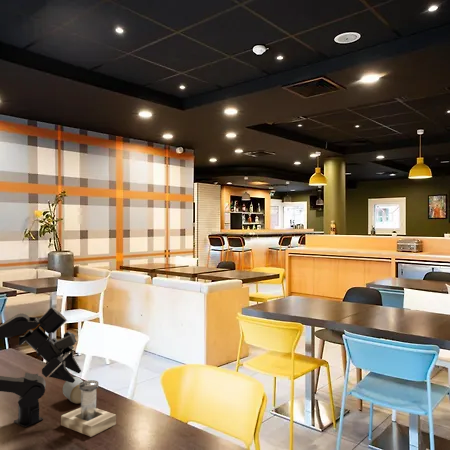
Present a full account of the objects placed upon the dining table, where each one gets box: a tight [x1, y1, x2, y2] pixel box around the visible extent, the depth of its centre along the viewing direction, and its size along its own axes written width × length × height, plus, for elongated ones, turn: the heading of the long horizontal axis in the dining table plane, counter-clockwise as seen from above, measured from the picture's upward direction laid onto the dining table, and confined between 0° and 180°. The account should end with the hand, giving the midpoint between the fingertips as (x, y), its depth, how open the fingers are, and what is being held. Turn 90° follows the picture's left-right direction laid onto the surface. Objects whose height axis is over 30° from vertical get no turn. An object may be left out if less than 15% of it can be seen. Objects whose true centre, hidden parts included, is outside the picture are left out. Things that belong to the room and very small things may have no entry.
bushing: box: [79, 380, 99, 421], centre depth 134 cm, size 6×6×13 cm
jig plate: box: [60, 407, 117, 438], centre depth 134 cm, size 14×10×3 cm
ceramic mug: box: [62, 376, 84, 405], centre depth 154 cm, size 11×8×8 cm
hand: (77, 376), depth 138 cm, fingers open, 9 cm apart
